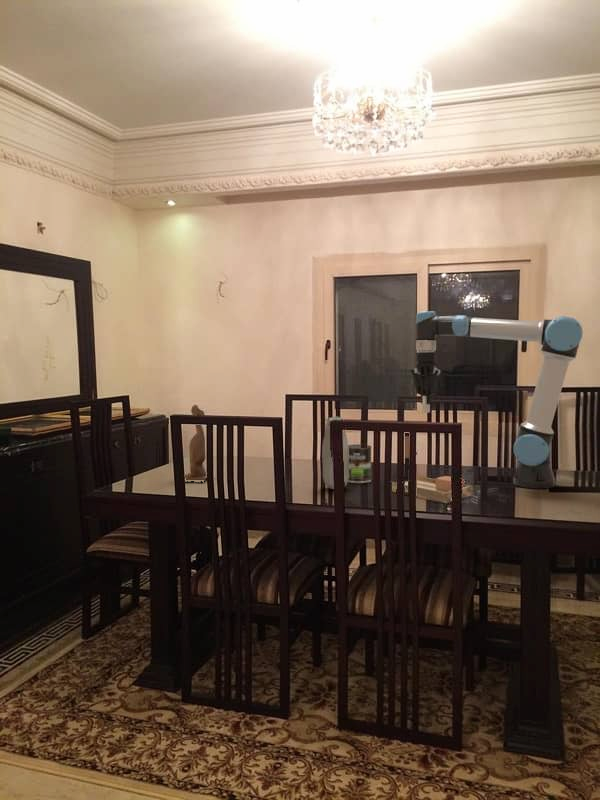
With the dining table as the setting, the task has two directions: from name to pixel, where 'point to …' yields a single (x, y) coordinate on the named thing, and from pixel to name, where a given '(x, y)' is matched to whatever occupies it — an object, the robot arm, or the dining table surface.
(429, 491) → the trap lane
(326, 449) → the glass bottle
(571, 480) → the dining table surface
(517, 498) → the dining table surface
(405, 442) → the travel mug
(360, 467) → the coffee can
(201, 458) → the bird sculpture
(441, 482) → the block
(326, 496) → the dining table surface
